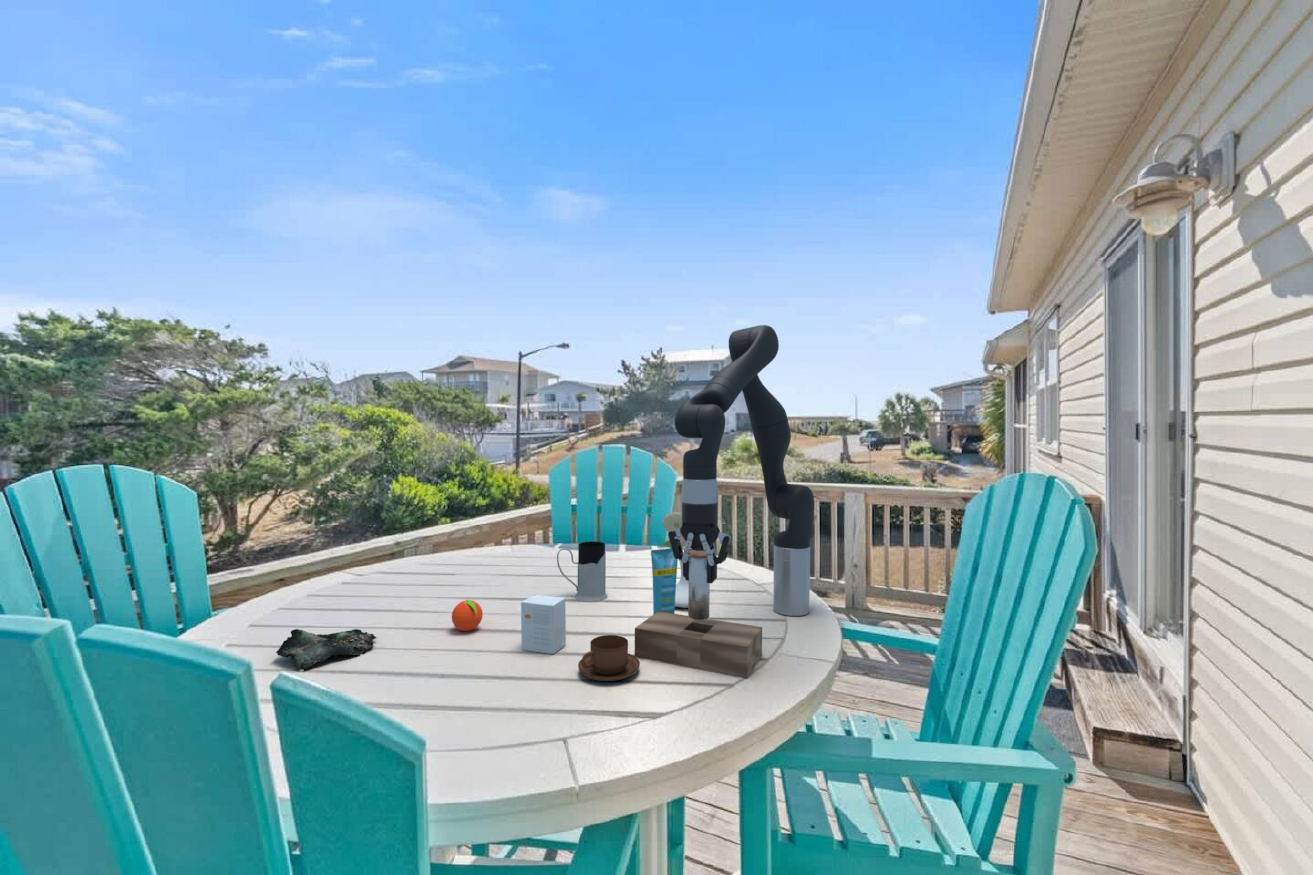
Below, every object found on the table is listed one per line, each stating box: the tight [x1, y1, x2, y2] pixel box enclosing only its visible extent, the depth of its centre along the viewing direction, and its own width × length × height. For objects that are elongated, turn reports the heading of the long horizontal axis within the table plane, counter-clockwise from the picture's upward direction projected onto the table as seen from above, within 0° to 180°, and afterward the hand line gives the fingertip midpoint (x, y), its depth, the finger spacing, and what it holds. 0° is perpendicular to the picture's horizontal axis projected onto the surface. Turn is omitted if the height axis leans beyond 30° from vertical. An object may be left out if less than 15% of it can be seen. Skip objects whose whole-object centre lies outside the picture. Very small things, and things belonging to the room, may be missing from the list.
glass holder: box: [556, 541, 608, 603], centre depth 159 cm, size 9×14×15 cm, turn 89°
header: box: [634, 611, 763, 679], centre depth 118 cm, size 12×24×6 cm, turn 66°
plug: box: [687, 548, 711, 620], centre depth 118 cm, size 5×5×14 cm
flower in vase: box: [661, 511, 689, 609], centre depth 153 cm, size 13×11×25 cm
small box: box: [520, 594, 567, 655], centre depth 122 cm, size 8×6×10 cm
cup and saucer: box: [577, 634, 641, 682], centre depth 110 cm, size 12×12×6 cm
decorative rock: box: [275, 628, 377, 673], centre depth 120 cm, size 19×6×15 cm
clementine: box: [451, 599, 484, 632], centre depth 132 cm, size 8×7×7 cm
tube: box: [650, 547, 679, 615], centre depth 134 cm, size 7×5×19 cm, turn 123°
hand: (699, 580), depth 118 cm, fingers closed on plug, 4 cm apart
